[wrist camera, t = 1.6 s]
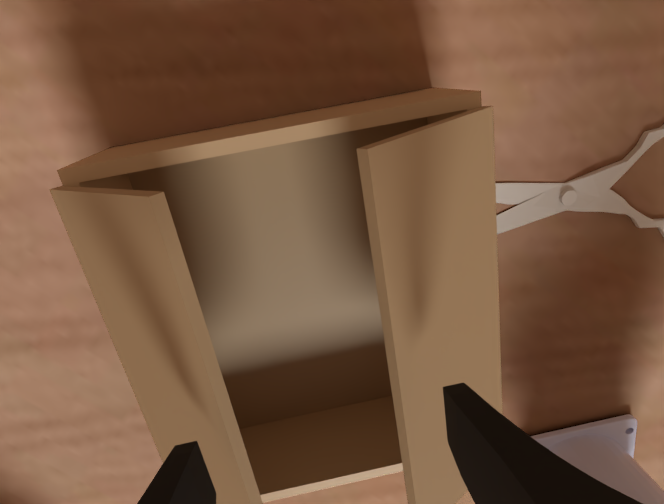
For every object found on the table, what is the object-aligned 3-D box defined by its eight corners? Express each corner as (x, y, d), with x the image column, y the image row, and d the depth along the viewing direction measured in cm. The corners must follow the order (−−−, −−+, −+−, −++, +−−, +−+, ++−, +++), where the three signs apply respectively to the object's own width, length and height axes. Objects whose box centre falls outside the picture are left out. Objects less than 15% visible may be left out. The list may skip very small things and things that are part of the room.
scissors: (754, 248, 24) (397, 327, 23) (740, 243, 25) (393, 320, 24) (797, 34, 20) (368, 118, 19) (779, 36, 21) (364, 117, 20)
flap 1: (289, 588, 16) (282, 598, 16) (193, 511, 20) (186, 518, 20) (163, 191, 11) (148, 196, 10) (62, 185, 14) (49, 189, 14)
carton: (455, 382, 26) (495, 450, 21) (211, 436, 25) (196, 517, 20) (432, 87, 20) (480, 91, 15) (110, 147, 19) (57, 170, 14)
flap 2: (495, 443, 21) (503, 447, 20) (413, 537, 17) (421, 544, 17) (481, 106, 15) (493, 105, 15) (356, 148, 12) (367, 149, 11)
